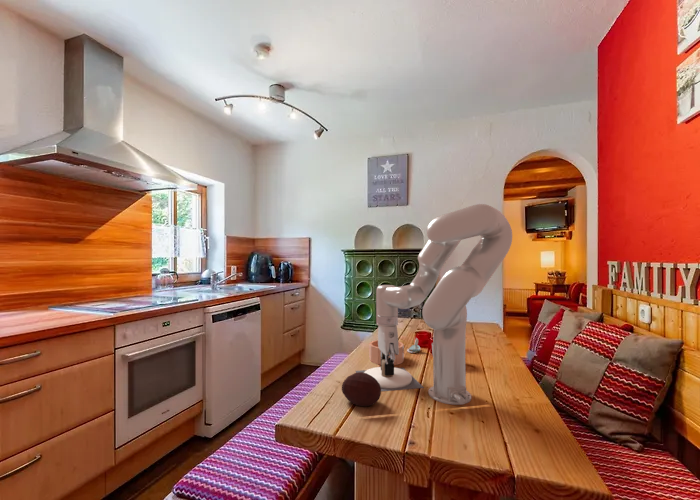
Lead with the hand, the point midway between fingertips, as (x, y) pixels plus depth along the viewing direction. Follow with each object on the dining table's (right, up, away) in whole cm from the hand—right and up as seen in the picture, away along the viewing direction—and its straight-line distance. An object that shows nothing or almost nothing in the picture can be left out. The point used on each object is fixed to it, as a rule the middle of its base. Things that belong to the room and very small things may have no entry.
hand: (387, 372), depth 109 cm
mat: (0, -3, 0) cm, 3 cm away
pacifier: (+16, -4, +34) cm, 38 cm away
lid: (0, -2, 0) cm, 2 cm away
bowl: (+2, -3, +21) cm, 21 cm away
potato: (-10, -3, -18) cm, 21 cm away
